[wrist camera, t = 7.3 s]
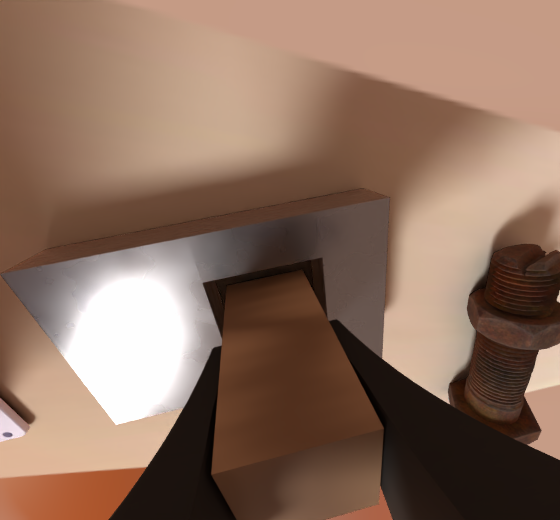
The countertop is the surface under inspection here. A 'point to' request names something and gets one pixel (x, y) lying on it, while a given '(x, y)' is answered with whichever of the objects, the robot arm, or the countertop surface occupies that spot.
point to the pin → (290, 409)
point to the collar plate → (197, 291)
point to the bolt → (510, 339)
